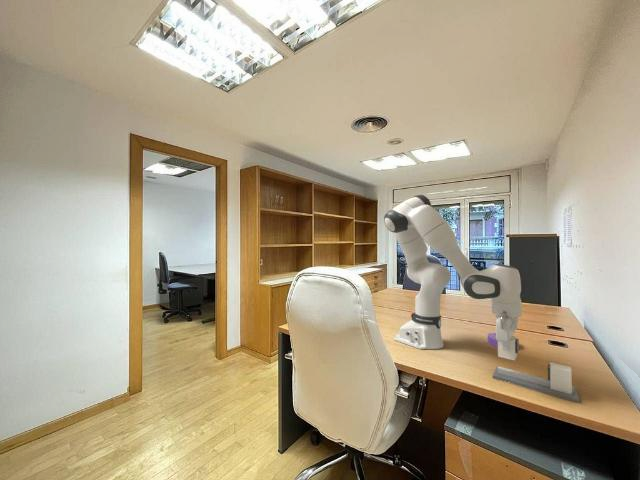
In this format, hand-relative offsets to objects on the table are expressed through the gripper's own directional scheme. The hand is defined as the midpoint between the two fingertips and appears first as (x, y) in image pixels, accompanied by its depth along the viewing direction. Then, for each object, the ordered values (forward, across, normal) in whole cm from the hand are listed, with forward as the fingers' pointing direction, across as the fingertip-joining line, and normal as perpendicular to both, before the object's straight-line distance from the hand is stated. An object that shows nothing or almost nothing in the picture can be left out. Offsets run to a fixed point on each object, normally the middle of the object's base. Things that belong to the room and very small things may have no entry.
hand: (507, 347), depth 94 cm
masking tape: (+12, +36, +7) cm, 39 cm away
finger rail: (+11, 0, -7) cm, 13 cm away
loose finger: (+3, 0, 0) cm, 3 cm away
